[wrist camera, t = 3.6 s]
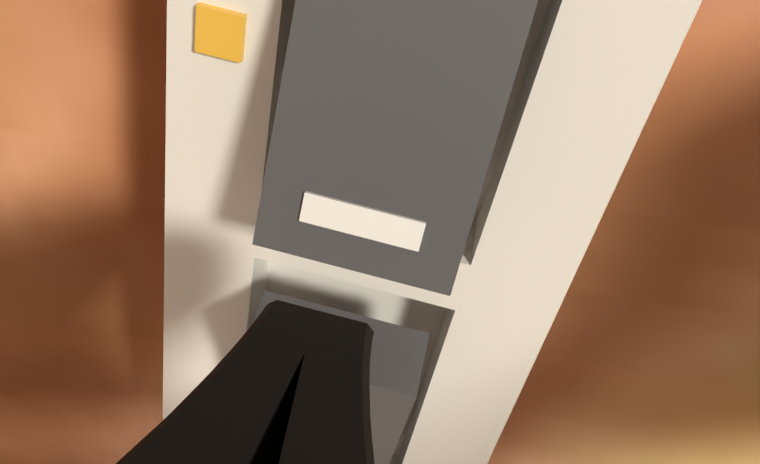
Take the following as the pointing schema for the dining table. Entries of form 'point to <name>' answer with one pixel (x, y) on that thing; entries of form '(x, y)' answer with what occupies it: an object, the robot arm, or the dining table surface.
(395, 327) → the rocker far end
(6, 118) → the dining table surface
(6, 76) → the dining table surface
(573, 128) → the power strip
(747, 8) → the dining table surface
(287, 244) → the rocker middle
